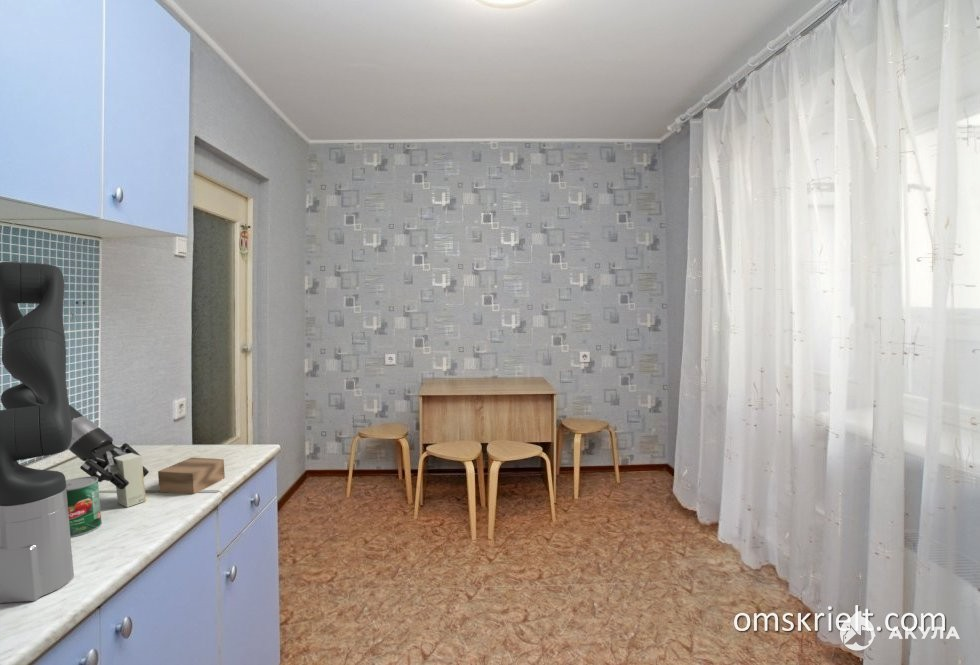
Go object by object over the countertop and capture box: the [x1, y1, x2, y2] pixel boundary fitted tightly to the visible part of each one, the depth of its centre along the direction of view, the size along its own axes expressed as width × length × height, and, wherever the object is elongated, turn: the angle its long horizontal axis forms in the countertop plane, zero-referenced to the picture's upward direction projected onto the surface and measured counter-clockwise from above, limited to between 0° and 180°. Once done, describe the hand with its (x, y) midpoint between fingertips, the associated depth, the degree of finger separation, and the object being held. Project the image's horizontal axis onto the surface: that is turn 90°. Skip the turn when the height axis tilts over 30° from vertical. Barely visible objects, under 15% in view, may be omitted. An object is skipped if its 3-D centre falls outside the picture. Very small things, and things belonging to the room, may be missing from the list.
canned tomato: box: [66, 476, 103, 538], centre depth 104 cm, size 8×8×11 cm
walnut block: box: [157, 457, 226, 495], centre depth 129 cm, size 11×11×6 cm
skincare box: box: [114, 453, 147, 508], centre depth 118 cm, size 6×4×12 cm
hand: (136, 480), depth 118 cm, fingers closed on skincare box, 7 cm apart
